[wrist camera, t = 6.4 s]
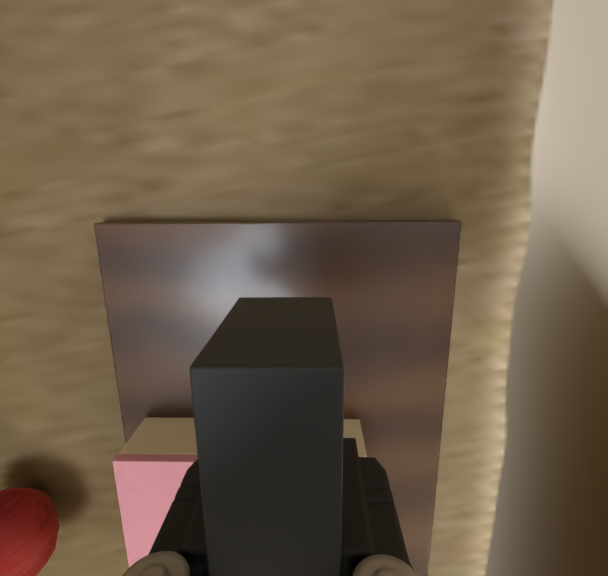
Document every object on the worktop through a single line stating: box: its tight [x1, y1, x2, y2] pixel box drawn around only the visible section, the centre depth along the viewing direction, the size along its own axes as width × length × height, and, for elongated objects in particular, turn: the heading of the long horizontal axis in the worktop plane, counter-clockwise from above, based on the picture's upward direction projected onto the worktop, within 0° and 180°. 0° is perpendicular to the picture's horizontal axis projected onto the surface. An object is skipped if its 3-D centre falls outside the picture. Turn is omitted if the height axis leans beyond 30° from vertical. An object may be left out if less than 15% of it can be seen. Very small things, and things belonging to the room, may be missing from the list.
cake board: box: [94, 220, 461, 576], centre depth 24 cm, size 25×20×1 cm
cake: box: [113, 417, 198, 567], centre depth 22 cm, size 8×9×4 cm
